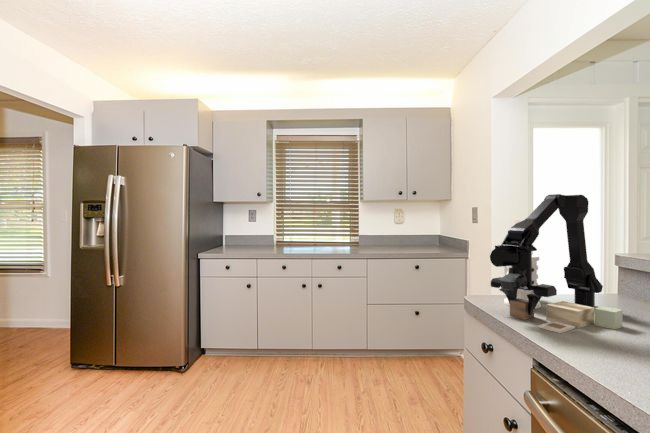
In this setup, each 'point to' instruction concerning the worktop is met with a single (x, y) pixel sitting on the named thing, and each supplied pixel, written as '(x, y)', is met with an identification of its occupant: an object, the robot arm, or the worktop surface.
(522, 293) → the decorative container
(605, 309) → the sage cube
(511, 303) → the walnut cube
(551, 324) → the card
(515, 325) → the worktop surface
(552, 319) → the birch plinth
